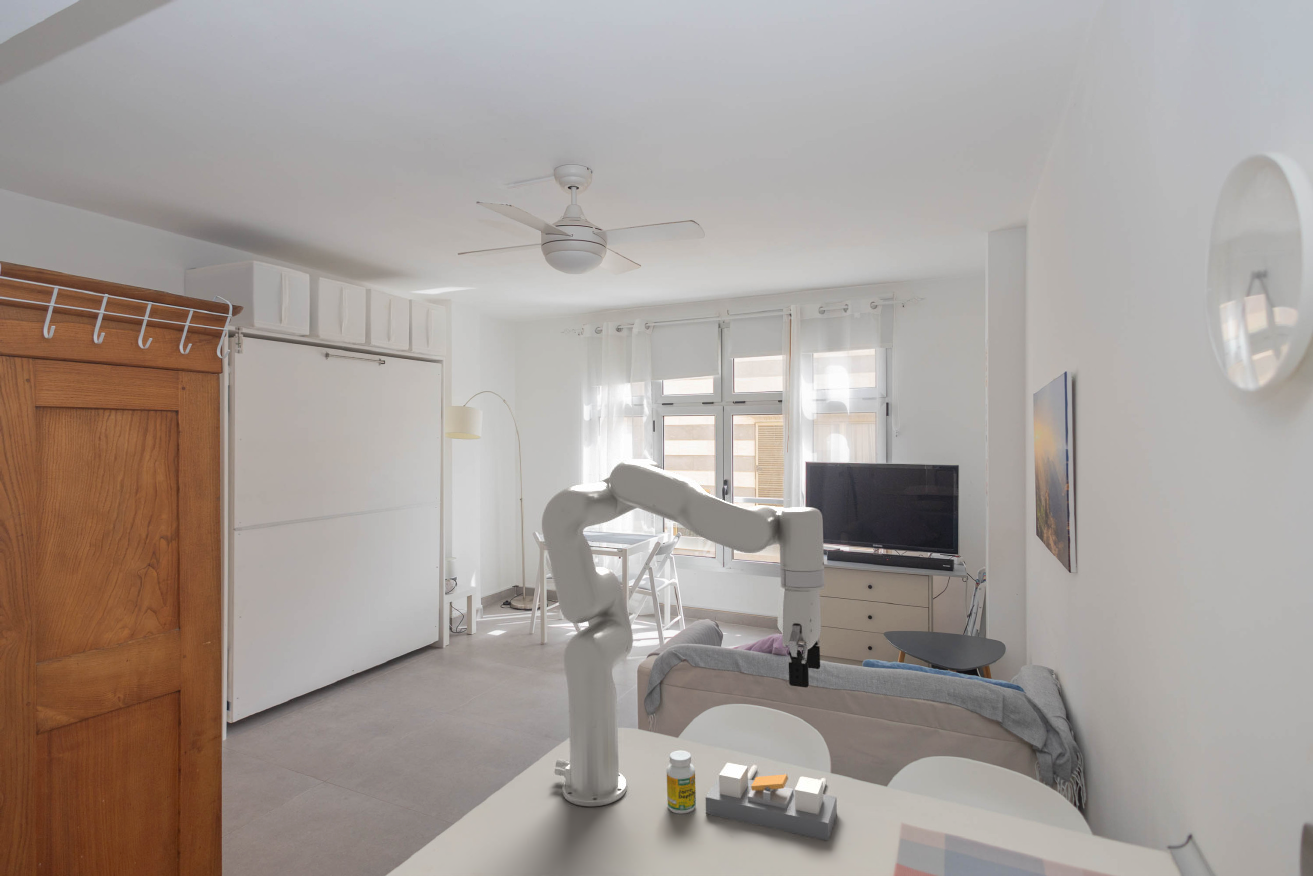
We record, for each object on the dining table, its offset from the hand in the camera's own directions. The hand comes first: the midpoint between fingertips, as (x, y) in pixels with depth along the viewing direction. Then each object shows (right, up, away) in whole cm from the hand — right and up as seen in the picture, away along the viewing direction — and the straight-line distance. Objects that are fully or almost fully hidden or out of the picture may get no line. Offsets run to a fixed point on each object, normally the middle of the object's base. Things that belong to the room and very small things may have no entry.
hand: (805, 676), depth 114 cm
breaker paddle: (-5, -22, +5) cm, 23 cm away
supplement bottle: (-21, -27, +8) cm, 36 cm away
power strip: (-3, -27, +10) cm, 29 cm away
